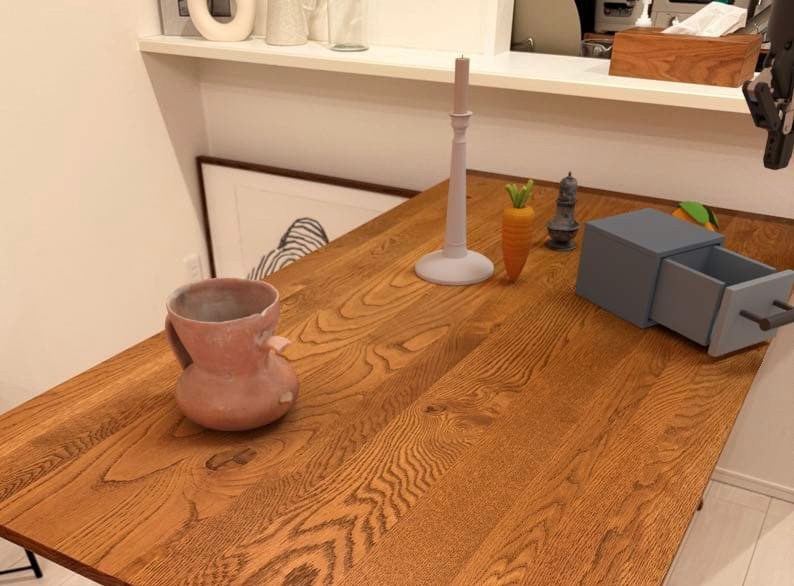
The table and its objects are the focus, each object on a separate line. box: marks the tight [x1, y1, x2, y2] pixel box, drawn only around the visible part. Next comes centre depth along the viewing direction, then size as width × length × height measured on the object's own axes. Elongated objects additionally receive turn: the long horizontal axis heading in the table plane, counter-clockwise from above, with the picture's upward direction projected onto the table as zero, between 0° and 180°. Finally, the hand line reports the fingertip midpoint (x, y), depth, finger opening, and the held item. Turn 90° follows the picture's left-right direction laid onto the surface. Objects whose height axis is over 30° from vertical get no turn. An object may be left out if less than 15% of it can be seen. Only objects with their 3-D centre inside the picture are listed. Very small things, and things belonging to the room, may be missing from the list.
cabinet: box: [574, 207, 727, 330], centre depth 111 cm, size 15×13×11 cm
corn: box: [671, 200, 720, 232], centre depth 125 cm, size 7×8×20 cm
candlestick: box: [414, 54, 495, 286], centre depth 115 cm, size 13×13×30 cm
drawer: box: [648, 244, 794, 358], centre depth 100 cm, size 18×11×9 cm, turn 29°
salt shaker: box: [545, 170, 582, 252], centre depth 129 cm, size 6×6×12 cm
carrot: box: [501, 179, 536, 283], centre depth 116 cm, size 5×5×15 cm
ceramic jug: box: [164, 277, 300, 432], centre depth 87 cm, size 18×14×14 cm
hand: (775, 167), depth 88 cm, fingers closed
